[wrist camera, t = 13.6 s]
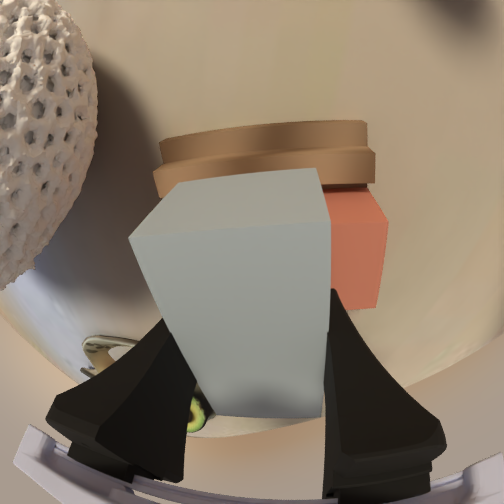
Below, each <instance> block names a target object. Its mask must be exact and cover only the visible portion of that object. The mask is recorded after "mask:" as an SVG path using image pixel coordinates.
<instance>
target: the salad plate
mask: <svg viewBox="0 0 504 504" xmlns="http://www.w3.org/2000/svg"><path fill="white" fill-rule="evenodd" d="M138 342H139V341H136V340H130V339H125V338H116V337H105V336H97V335H95V336H90V337H87V338H86V339H85V340H84V342H83V343H82V348H83V351H84V353H85V355H86V356H87V358H88V359H89V360H90V362H91V363H92V365H93V366H94V368H95V369H86V368H83V367H82V368H81V369H80V371H81V372H82V373H84V374H85V375H87V376H88V377H90V378H92V377H94V376H95V375H97V374H99V373H100V372H102V371H103V370H104V369H106V368H107V367H109V366H110V365H112V364H113V363H114V362H116V361H114V359H112V357H111V356H110V355H109V354H108V351H109V350H110V349H111V348H114V347H116V346H128V347H134V346H135V345H136V344H137V343H138ZM215 416H216V413H215V411H214V410H213V408H212V407H211V405H210V403H209V402H208V400H207V398H206V397H205V395H204V393H203V392H202V390H201V388H200V387H199V385H198V383H197V384H196V387H195V390H194V394H193V398H192V402H191V408H190V414H189V420H188V427H187V432H192V433H193V432H196V431H199V430H201V429H202V428H203V427H204V426H205V424H206V422H207V420H209V419H212V418H214V417H215Z"/></svg>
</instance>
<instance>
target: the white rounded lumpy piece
mask: <svg viewBox="0 0 504 504" xmlns="http://www.w3.org/2000/svg"><path fill="white" fill-rule="evenodd" d="M80 31H81V30H80V28H79V27H78V26H77V25H76V24H75V23H74V20H73V19H71V14H70V13H67V11H63V10H62V9H61V6H60V5H58V2H57V1H55V0H0V290H1V291H2V290H4V289H5V288H6V285H7V284H9V283H10V282H12V283H14V282H15V280H16V279H17V277H18V276H19V275H22V274H23V273H24V272H25V271H26V270H28V269H34V270H35V268H34V267H35V266H34V265H35V263H34V258H35V257H36V256H37V255H38V254H41V252H42V249H43V247H44V246H46V245H49V241H50V239H51V238H52V237H53V235H54V233H55V232H56V230H57V229H58V227H59V225H60V223H61V222H62V221H63V219H64V218H65V217H66V215H67V213H68V212H69V210H70V209H71V208H72V206H73V202H74V201H75V199H77V197H78V195H79V194H80V192H81V187H82V184H83V182H84V181H85V179H86V172H87V169H88V168H89V165H90V163H91V160H92V157H93V154H94V153H95V152H94V151H93V147H94V146H95V144H94V141H95V140H96V138H97V137H98V134H97V132H96V127H97V124H98V123H97V120H96V119H97V113H98V111H97V105H98V99H97V94H98V91H97V87H96V86H97V84H96V82H97V81H96V77H95V72H94V70H93V69H92V61H93V59H92V58H91V54H90V53H89V49H88V47H87V44H86V42H85V41H84V39H83V38H82V34H81V32H80ZM39 261H40V260H39ZM25 273H26V272H25Z"/></svg>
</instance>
